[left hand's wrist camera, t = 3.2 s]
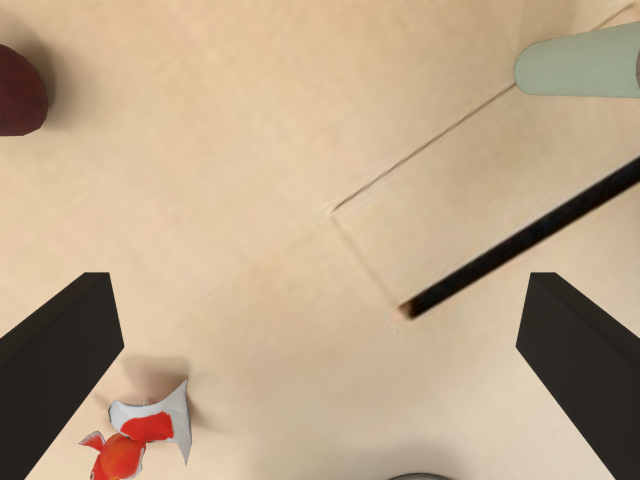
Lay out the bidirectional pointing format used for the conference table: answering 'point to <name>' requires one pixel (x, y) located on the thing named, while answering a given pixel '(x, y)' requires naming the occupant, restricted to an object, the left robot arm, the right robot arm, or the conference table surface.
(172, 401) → the fish
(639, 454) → the left robot arm
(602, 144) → the conference table surface
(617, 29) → the green bottle
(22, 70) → the dark maroon ball
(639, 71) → the lid
